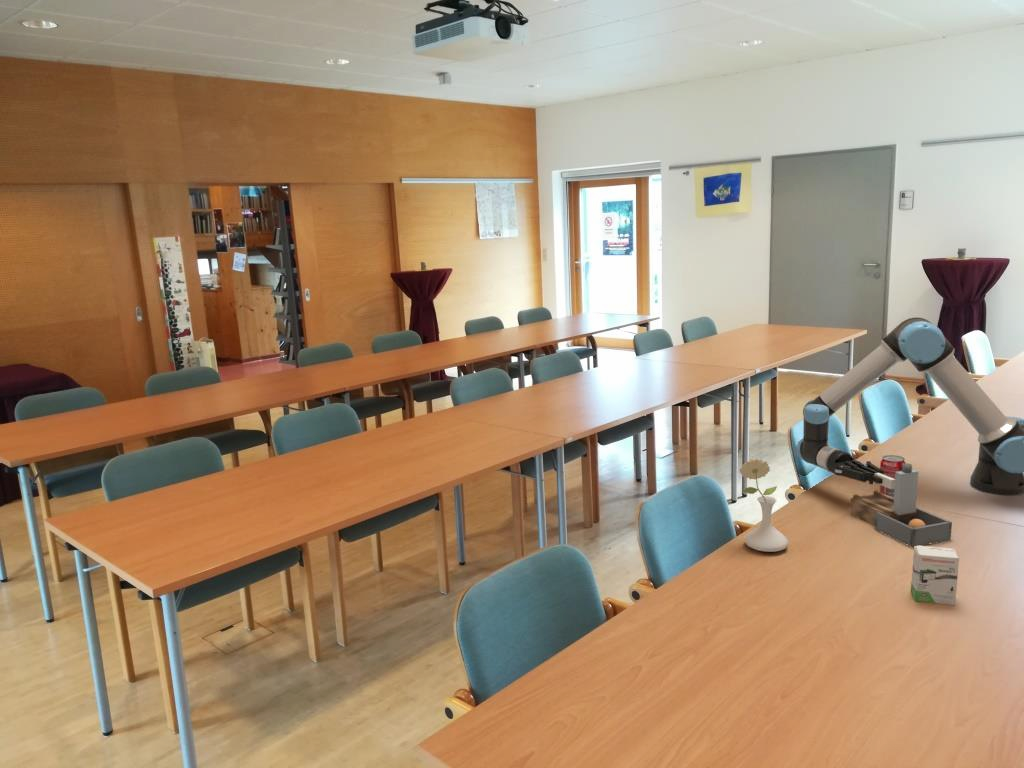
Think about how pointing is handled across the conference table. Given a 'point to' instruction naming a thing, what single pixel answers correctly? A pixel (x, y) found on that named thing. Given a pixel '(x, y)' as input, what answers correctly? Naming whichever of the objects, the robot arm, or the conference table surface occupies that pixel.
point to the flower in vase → (765, 534)
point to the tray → (900, 530)
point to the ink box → (934, 575)
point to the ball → (916, 523)
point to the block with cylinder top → (905, 490)
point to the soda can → (890, 470)
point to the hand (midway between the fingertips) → (893, 484)
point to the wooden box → (874, 507)
